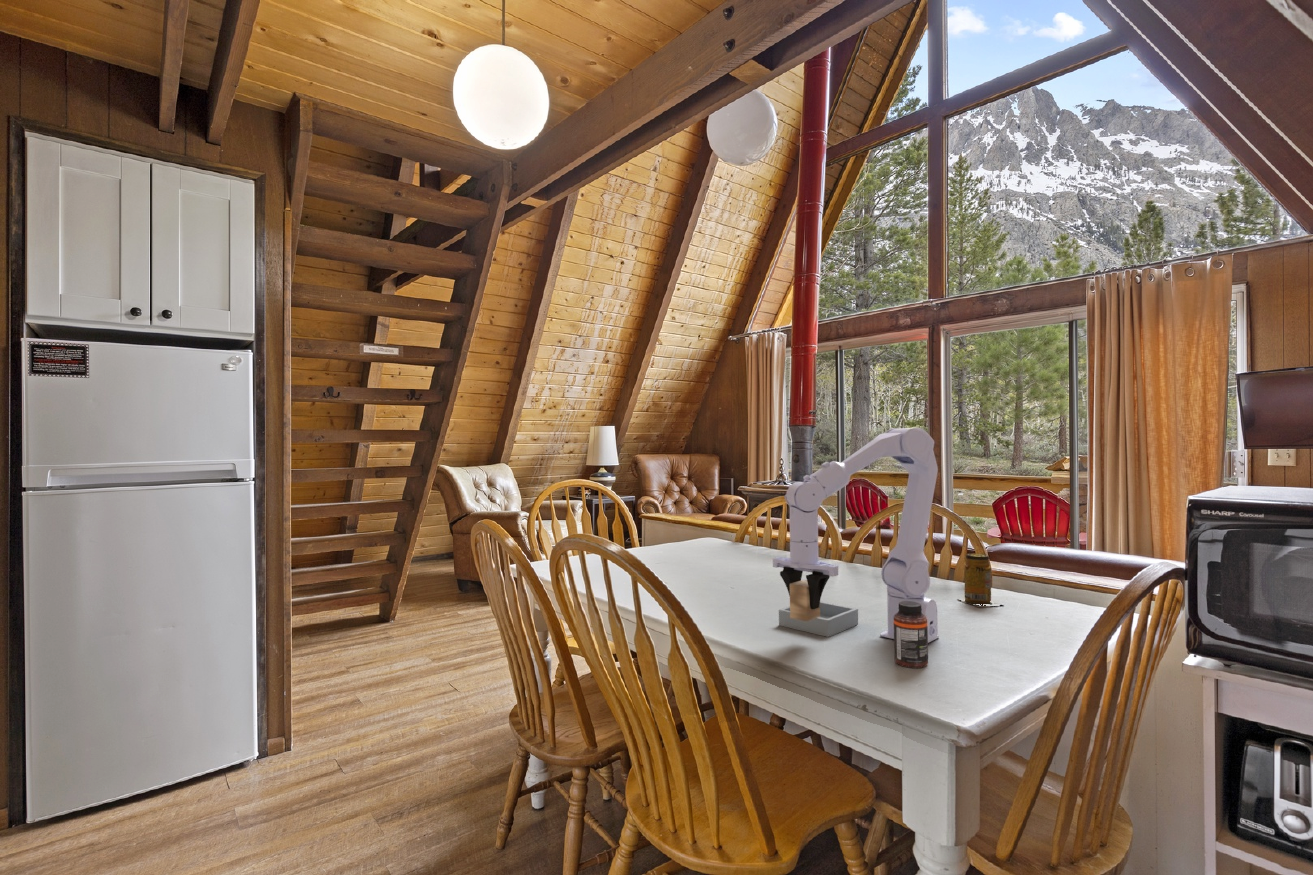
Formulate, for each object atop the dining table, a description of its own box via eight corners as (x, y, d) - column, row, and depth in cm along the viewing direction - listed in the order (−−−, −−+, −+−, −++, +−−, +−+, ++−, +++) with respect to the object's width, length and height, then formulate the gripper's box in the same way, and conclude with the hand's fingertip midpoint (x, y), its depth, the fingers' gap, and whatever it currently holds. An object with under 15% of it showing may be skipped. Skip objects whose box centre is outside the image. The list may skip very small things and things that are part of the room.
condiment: (980, 598, 171) (979, 551, 171) (1004, 606, 162) (1004, 557, 162) (955, 600, 169) (955, 553, 169) (979, 608, 161) (978, 559, 161)
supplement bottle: (900, 655, 127) (899, 597, 127) (932, 662, 123) (931, 602, 123) (889, 664, 123) (888, 603, 122) (922, 671, 119) (921, 608, 119)
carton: (820, 616, 136) (819, 582, 136) (806, 621, 133) (806, 586, 133) (803, 612, 139) (803, 579, 139) (790, 617, 136) (789, 583, 136)
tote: (858, 624, 148) (857, 608, 148) (828, 636, 140) (828, 620, 140) (809, 614, 157) (809, 599, 157) (778, 625, 149) (778, 609, 149)
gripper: (763, 539, 138) (764, 603, 138) (824, 546, 128) (825, 616, 128) (783, 535, 143) (784, 597, 143) (843, 542, 133) (844, 609, 133)
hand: (805, 606), depth 136 cm, fingers closed on carton, 4 cm apart
